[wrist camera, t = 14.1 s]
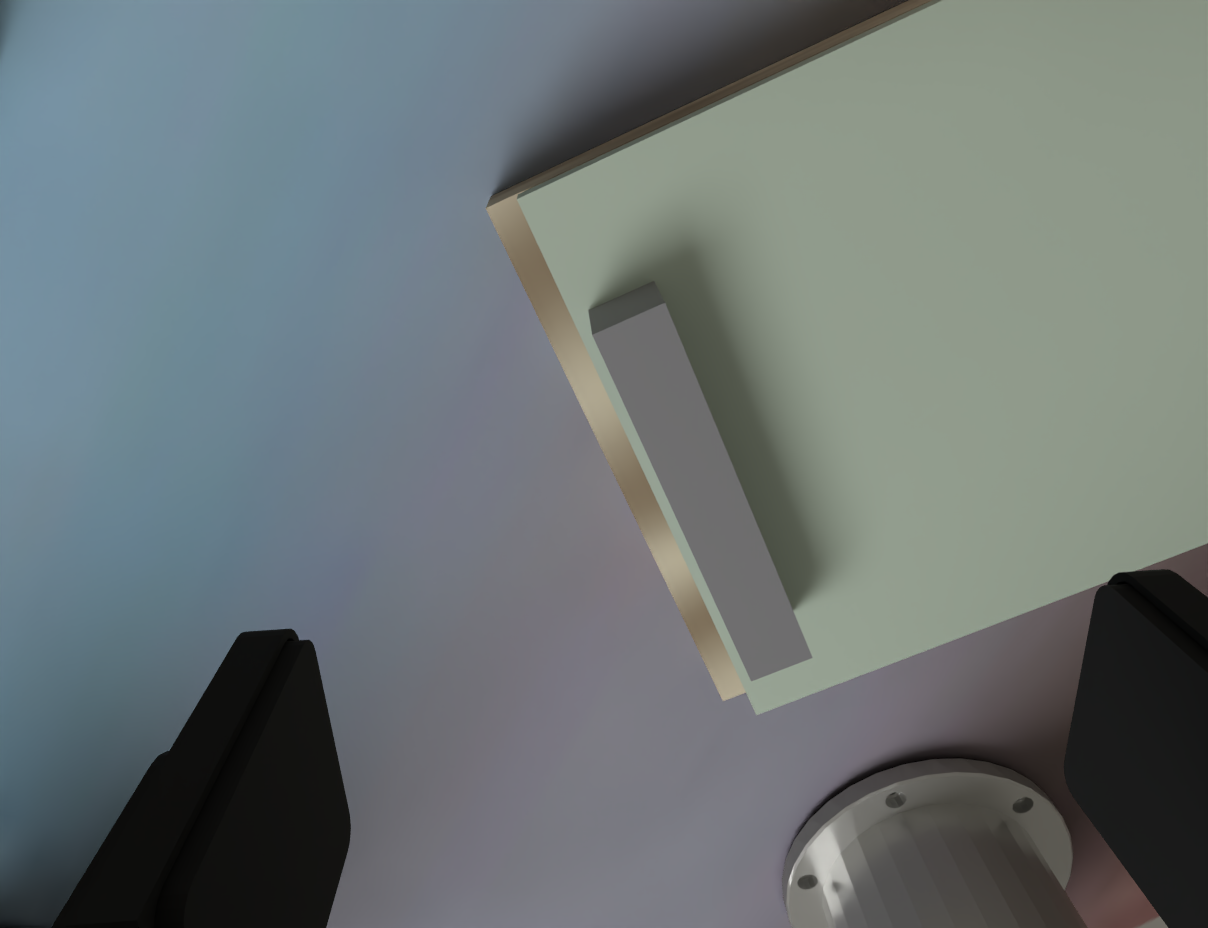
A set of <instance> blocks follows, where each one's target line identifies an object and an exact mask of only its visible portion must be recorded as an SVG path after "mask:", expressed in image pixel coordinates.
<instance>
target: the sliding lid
mask: <svg viewBox="0 0 1208 928" xmlns="http://www.w3.org/2000/svg"><path fill="white" fill-rule="evenodd" d="M517 201H518V203H519V205H520V207H521V210H522V212H523V214H524V216H525V218H526V220H527V223H528V225H529V227H530V229H531V231H532V233H533V235H534V238H535V240H536V242H537V244H538V246H539V248H540V250H541V253H542V255H543V257H544V259H545V261H546V263H547V266H548V268H549V270H550V272H551V274H552V276H553V278H554V281H555V283H556V285H557V287H558V289H559V291H560V294H561V296H562V298H563V300H564V302H565V304H566V306H567V309H568V311H569V313H570V315H571V317H572V319H573V321H574V324H575V326H576V328H577V330H578V332H579V334H580V337H581V339H582V341H583V343H584V345H585V347H586V349H587V352H588V354H589V356H590V358H591V360H592V362H593V364H594V367H595V369H596V371H597V373H598V375H599V377H600V380H601V382H602V384H603V386H604V388H605V390H606V392H607V395H608V397H609V399H610V401H611V403H612V405H613V407H614V410H615V412H616V414H617V416H618V418H619V420H620V423H621V425H622V427H623V429H624V431H625V433H626V435H627V438H628V440H629V442H630V444H631V446H632V448H633V450H634V453H635V455H636V457H637V459H638V461H639V463H640V466H641V468H642V470H643V472H644V474H645V476H646V478H647V481H648V483H649V485H650V487H651V489H652V491H653V493H654V496H655V498H656V500H657V502H658V504H659V506H660V509H661V511H662V513H663V515H664V517H665V519H666V521H667V524H668V526H669V528H670V530H671V532H672V534H673V536H674V539H675V541H676V543H677V545H678V547H679V549H680V552H681V554H682V556H683V558H684V560H685V562H686V564H687V567H688V569H689V571H690V573H691V575H692V577H693V580H694V582H695V584H696V586H697V588H698V590H699V592H700V595H701V597H702V599H703V601H704V603H705V605H706V607H707V610H708V612H709V614H710V616H711V618H712V620H713V623H714V625H715V627H716V629H717V631H718V633H719V635H720V638H721V640H722V642H723V644H724V646H725V648H726V650H727V653H728V655H729V657H730V659H731V661H732V663H733V666H734V668H735V670H736V672H737V674H738V676H739V678H740V681H741V683H742V685H743V687H744V689H745V691H746V693H747V696H748V698H749V700H750V702H751V704H752V706H753V709H754V711H755V713H756V715H758V714H761V713H764V712H766V711H769V710H771V709H774V708H777V707H779V706H782V705H785V704H787V703H790V702H792V701H795V700H798V699H800V698H803V697H806V696H808V695H811V694H813V693H816V692H819V691H821V690H824V689H827V688H829V687H832V686H834V685H837V684H840V683H842V682H845V681H848V680H850V679H853V678H855V677H858V676H861V675H863V674H866V673H869V672H871V671H874V670H876V669H879V668H882V667H884V666H887V665H890V664H892V663H895V662H897V661H900V660H903V659H905V658H908V657H911V656H913V655H916V654H918V653H921V652H924V651H926V650H929V649H932V648H934V647H937V646H939V645H942V644H945V643H947V642H950V641H953V640H955V639H958V638H960V637H963V636H966V635H968V634H971V633H974V632H976V631H979V630H981V629H984V628H987V627H989V626H992V625H995V624H997V623H1000V622H1002V621H1005V620H1008V619H1010V618H1013V617H1016V616H1018V615H1021V614H1023V613H1026V612H1029V611H1031V610H1034V609H1037V608H1039V607H1042V606H1044V605H1047V604H1050V603H1052V602H1055V601H1058V600H1060V599H1063V598H1065V597H1068V596H1071V595H1073V594H1076V593H1079V592H1081V591H1084V590H1086V589H1089V588H1092V587H1094V586H1097V585H1100V584H1102V583H1105V582H1107V581H1109V580H1110V579H1111V578H1112V576H1113V575H1115V574H1117V573H1119V572H1132V571H1136V570H1139V569H1142V568H1144V567H1147V566H1149V565H1152V564H1155V563H1157V562H1160V561H1163V560H1165V559H1168V558H1170V557H1173V556H1176V555H1178V554H1181V553H1184V552H1186V551H1189V550H1191V549H1194V548H1197V547H1199V546H1202V545H1205V544H1207V543H1208V0H932V1H930V2H928V3H926V4H924V5H921V6H919V7H917V8H915V9H913V10H911V11H909V12H907V13H904V14H902V15H900V16H898V17H896V18H894V19H892V20H889V21H887V22H885V23H883V24H881V25H879V26H877V27H874V28H872V29H870V30H868V31H866V32H864V33H862V34H860V35H857V36H855V37H853V38H851V39H849V40H847V41H845V42H842V43H840V44H838V45H836V46H834V47H832V48H830V49H827V50H825V51H823V52H821V53H819V54H817V55H815V56H813V57H810V58H808V59H806V60H804V61H802V62H800V63H798V64H795V65H793V66H791V67H789V68H787V69H785V70H783V71H780V72H778V73H776V74H774V75H772V76H770V77H768V78H766V79H763V80H761V81H759V82H757V83H755V84H753V85H751V86H748V87H746V88H744V89H742V90H740V91H738V92H736V93H734V94H731V95H729V96H727V97H725V98H723V99H721V100H719V101H716V102H714V103H712V104H710V105H708V106H706V107H704V108H701V109H699V110H697V111H695V112H693V113H691V114H689V115H687V116H684V117H682V118H680V119H678V120H676V121H674V122H672V123H669V124H667V125H665V126H663V127H661V128H659V129H657V130H654V131H652V132H650V133H648V134H646V135H644V136H642V137H640V138H637V139H635V140H633V141H631V142H629V143H627V144H625V145H622V146H620V147H618V148H616V149H614V150H612V151H610V152H607V153H605V154H603V155H601V156H599V157H597V158H595V159H593V160H590V161H588V162H586V163H584V164H582V165H580V166H578V167H575V168H573V169H571V170H569V171H567V172H565V173H563V174H560V175H558V176H556V177H554V178H552V179H550V180H548V181H546V182H543V183H541V184H539V185H537V186H535V187H533V188H531V189H528V190H526V191H524V192H522V193H520V194H518V196H517Z"/></svg>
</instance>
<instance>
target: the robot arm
mask: <svg viewBox="0 0 1208 928" xmlns="http://www.w3.org/2000/svg"><path fill="white" fill-rule="evenodd" d="M1064 774H1065V779H1066V783H1067V785H1068V788H1069V790H1070V792H1071V794H1072V796H1073V797H1074V799H1075V800H1076V801H1077V803H1078V804H1079V805H1080V807H1081V808H1082V810H1083V811H1084V812H1085V814H1086V815H1087V816H1088V818H1089V819H1090V821H1091V822H1092V823H1093V825H1094V826H1095V827H1096V829H1097V830H1098V832H1099V833H1100V834H1101V836H1102V837H1103V838H1104V840H1105V841H1106V843H1107V844H1108V845H1109V847H1110V848H1111V849H1112V851H1113V852H1114V854H1115V855H1116V856H1117V858H1118V859H1119V860H1120V862H1121V863H1122V865H1123V866H1124V867H1125V869H1126V870H1127V871H1128V873H1129V874H1130V876H1131V877H1132V878H1133V880H1134V881H1135V882H1136V884H1137V885H1138V886H1139V888H1140V889H1141V891H1142V892H1143V893H1144V895H1145V896H1146V897H1147V899H1148V900H1149V902H1150V903H1151V904H1152V906H1153V907H1154V908H1155V910H1156V911H1157V913H1158V914H1159V915H1160V917H1161V918H1162V919H1163V921H1164V922H1165V924H1166V925H1167V926H1168V928H1208V597H1206V596H1205V595H1204V594H1202V593H1201V592H1200V591H1199V590H1197V589H1196V588H1195V587H1193V586H1192V585H1191V584H1190V583H1188V582H1187V581H1186V580H1184V579H1183V578H1182V577H1181V576H1179V575H1178V574H1177V573H1175V572H1173V571H1171V570H1164V569H1161V570H1147V571H1132V572H1119V573H1117V574H1115V575H1113V576H1112V578H1111V579H1110V580H1109V582H1108V585H1104V586H1102V587H1100V588H1099V589H1098V591H1097V592H1096V595H1095V599H1094V604H1093V609H1092V615H1091V620H1090V626H1089V631H1088V636H1087V642H1086V647H1085V652H1084V658H1083V663H1082V669H1081V674H1080V679H1079V685H1078V690H1077V696H1076V701H1075V706H1074V712H1073V717H1072V722H1071V728H1070V733H1069V739H1068V744H1067V749H1066V755H1065V760H1064ZM350 831H351V824H350V814H349V809H348V804H347V799H346V794H345V790H344V785H343V780H342V775H341V771H340V766H339V761H338V756H337V752H336V747H335V742H334V737H333V732H332V728H331V723H330V718H329V713H328V709H327V704H326V699H325V694H324V690H323V685H322V680H321V675H320V670H319V666H318V661H317V656H316V651H315V648H314V645H313V643H312V642H311V641H310V640H299V639H298V636H297V634H296V633H295V631H294V630H292V629H279V630H265V631H250V632H243V633H241V634H240V635H239V636H238V637H237V639H236V640H235V642H234V644H233V645H232V647H231V649H230V650H229V652H228V654H227V655H226V657H225V659H224V660H223V662H222V664H221V665H220V667H219V669H218V670H217V672H216V674H215V675H214V677H213V679H212V681H211V682H210V684H209V686H208V687H207V689H206V691H205V692H204V694H203V696H202V697H201V699H200V701H199V702H198V704H197V706H196V707H195V709H194V711H193V712H192V714H191V716H190V717H189V719H188V721H187V722H186V724H185V726H184V727H183V729H182V731H181V732H180V734H179V736H178V738H177V739H176V741H175V743H174V744H173V746H172V748H171V749H170V751H167V752H165V753H163V754H161V755H159V756H158V757H157V758H156V759H155V761H154V762H153V763H152V764H151V766H150V767H149V769H148V770H147V772H146V774H145V775H144V777H143V779H142V780H141V782H140V783H139V785H138V787H137V788H136V790H135V792H134V793H133V795H132V797H131V798H130V800H129V801H128V803H127V805H126V806H125V808H124V810H123V811H122V813H121V815H120V816H119V818H118V819H117V821H116V823H115V824H114V826H113V828H112V829H111V831H110V833H109V834H108V836H107V837H106V839H105V841H104V842H103V844H102V846H101V847H100V849H99V850H98V852H97V854H96V855H95V857H94V859H93V860H92V862H91V864H90V865H89V867H88V868H87V870H86V872H85V873H84V875H83V877H82V878H81V880H80V882H79V883H78V885H77V886H76V888H75V890H74V891H73V893H72V895H71V896H70V898H69V900H68V901H67V903H66V904H65V906H64V908H63V909H62V911H61V913H60V914H59V916H58V917H57V919H56V921H55V922H54V924H53V926H52V927H51V928H326V926H327V923H328V919H329V915H330V912H331V908H332V905H333V901H334V898H335V894H336V891H337V887H338V884H339V880H340V877H341V873H342V869H343V866H344V862H345V859H346V855H347V852H348V848H349V842H350ZM1072 862H1073V848H1072V841H1071V835H1070V832H1069V830H1068V828H1067V826H1066V824H1065V821H1064V819H1063V817H1062V816H1061V814H1060V813H1059V811H1058V810H1057V809H1056V807H1055V806H1054V804H1053V803H1052V801H1051V800H1050V799H1049V797H1048V796H1047V794H1045V793H1044V792H1043V791H1042V790H1041V789H1040V788H1039V787H1038V786H1037V785H1036V784H1034V783H1033V782H1032V781H1031V780H1029V779H1028V778H1026V777H1024V776H1022V775H1020V774H1019V773H1017V772H1015V771H1013V770H1011V769H1009V768H1005V767H1002V766H999V765H996V764H993V763H990V762H985V761H977V760H969V759H962V758H957V759H931V760H925V761H920V762H914V763H908V764H903V765H900V766H897V767H894V768H891V769H888V770H885V771H882V772H879V773H876V774H874V775H872V776H870V777H868V778H866V779H864V780H862V781H860V782H857V783H855V784H853V785H851V786H850V787H848V788H847V789H845V790H844V791H843V792H841V793H840V794H838V795H837V796H835V797H834V798H832V799H831V800H830V801H828V802H827V803H826V804H825V805H824V806H823V807H822V808H821V809H820V810H819V811H818V812H817V813H816V814H814V815H813V816H812V817H811V818H810V819H809V820H808V822H807V823H806V825H805V826H804V827H803V829H802V830H801V831H800V833H799V834H798V836H797V837H796V838H795V840H794V842H793V844H792V847H791V849H790V851H789V853H788V855H787V858H786V860H785V865H784V870H783V876H782V891H783V900H784V904H785V907H786V910H787V914H788V918H789V922H790V924H791V926H792V928H1088V927H1087V926H1086V924H1085V923H1084V921H1083V919H1082V918H1081V916H1080V915H1079V913H1078V911H1077V910H1076V908H1075V907H1074V905H1073V903H1072V902H1071V900H1070V899H1069V897H1068V896H1067V894H1066V892H1065V889H1066V886H1067V883H1068V881H1069V878H1070V875H1071V870H1072Z"/></svg>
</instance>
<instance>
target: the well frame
mask: <svg viewBox="0 0 1208 928" xmlns="http://www.w3.org/2000/svg"><path fill="white" fill-rule="evenodd" d="M930 1H932V0H908V1H906V2H904V3H902V4H900V5H897V6H895V7H893V8H891V9H889V10H887V11H885V12H883V13H880V14H878V15H876V16H874V17H872V18H870V19H868V20H865V21H863V22H861V23H859V24H857V25H855V26H853V27H851V28H848V29H846V30H844V31H842V32H840V33H838V34H836V35H834V36H831V37H829V38H827V39H825V40H823V41H821V42H819V43H817V44H814V45H812V46H810V47H808V48H806V49H804V50H802V51H799V52H797V53H795V54H793V55H791V56H789V57H787V58H785V59H782V60H780V61H778V62H776V63H774V64H772V65H770V66H768V67H765V68H763V69H761V70H759V71H757V72H755V73H753V74H750V75H748V76H746V77H744V78H742V79H740V80H738V81H736V82H733V83H731V84H729V85H727V86H725V87H723V88H721V89H719V90H716V91H714V92H712V93H710V94H708V95H706V96H704V97H702V98H699V99H697V100H695V101H693V102H691V103H689V104H687V105H684V106H682V107H680V108H678V109H676V110H674V111H672V112H670V113H667V114H665V115H663V116H661V117H659V118H657V119H655V120H653V121H650V122H648V123H646V124H644V125H642V126H640V127H638V128H636V129H633V130H631V131H629V132H627V133H625V134H623V135H621V136H618V137H616V138H614V139H612V140H610V141H608V142H606V143H604V144H601V145H599V146H597V147H595V148H593V149H591V150H589V151H587V152H584V153H582V154H580V155H578V156H576V157H574V158H572V159H570V160H567V161H565V162H563V163H561V164H559V165H557V166H555V167H552V168H550V169H548V170H546V171H544V172H542V173H540V174H538V175H535V176H533V177H531V178H529V179H527V180H525V181H523V182H521V183H518V184H516V185H514V186H512V187H510V188H508V189H506V190H503V191H501V192H499V193H497V194H495V195H493V196H491V197H490V200H489V202H488V204H487V207H486V210H487V212H488V214H489V216H490V218H491V220H492V222H493V224H494V226H495V228H496V231H497V233H498V235H499V237H500V239H501V241H502V243H503V245H504V247H505V249H506V251H507V253H508V255H509V258H510V260H511V262H512V264H513V266H514V268H515V270H516V272H517V274H518V276H519V278H520V280H521V282H522V285H523V287H524V289H525V291H526V293H527V295H528V297H529V299H530V301H531V303H532V305H533V307H534V309H535V312H536V314H537V316H538V318H539V320H540V322H541V324H542V326H543V328H544V330H545V332H546V334H547V336H548V339H549V341H550V343H551V345H552V347H553V349H554V351H555V353H556V355H557V357H558V359H559V361H560V363H561V366H562V368H563V370H564V372H565V374H566V376H567V378H568V380H569V382H570V384H571V386H572V388H573V390H574V393H575V395H576V397H577V399H578V401H579V403H580V405H581V407H582V409H583V411H584V413H585V415H586V417H587V420H588V422H589V424H590V426H591V428H592V430H593V432H594V434H595V436H596V438H597V440H598V442H599V444H600V447H601V449H602V451H603V453H604V455H605V457H606V459H607V461H608V463H609V465H610V467H611V469H612V471H613V474H614V476H615V478H616V480H617V482H618V484H619V486H620V488H621V490H622V492H623V494H624V496H625V498H626V501H627V503H628V505H629V507H630V509H631V511H632V513H633V515H634V517H635V519H636V521H637V523H638V525H639V528H640V530H641V532H642V534H643V536H644V538H645V540H646V542H647V544H648V546H649V548H650V550H651V552H652V554H653V557H654V559H655V561H656V563H657V565H658V567H659V569H660V571H661V573H662V575H663V577H664V579H665V581H666V584H667V586H668V588H669V590H670V592H671V594H672V596H673V598H674V600H675V602H676V604H677V606H678V608H679V611H680V613H681V615H682V617H683V619H684V621H685V623H686V625H687V627H688V629H689V631H690V633H691V635H692V638H693V640H694V642H695V644H696V646H697V648H698V650H699V652H700V654H701V656H702V658H703V660H704V662H705V665H706V667H707V669H708V671H709V673H710V675H711V677H712V679H713V681H714V683H715V685H716V687H717V689H718V692H719V694H720V696H721V698H722V700H723V701H725V700H728V699H730V698H733V697H735V696H738V695H741V694H743V693H746V691H745V689H744V687H743V685H742V683H741V681H740V678H739V676H738V674H737V672H736V670H735V668H734V666H733V663H732V661H731V659H730V657H729V655H728V653H727V650H726V648H725V646H724V644H723V642H722V640H721V638H720V635H719V633H718V631H717V629H716V627H715V625H714V623H713V620H712V618H711V616H710V614H709V612H708V610H707V607H706V605H705V603H704V601H703V599H702V597H701V595H700V592H699V590H698V588H697V586H696V584H695V582H694V580H693V577H692V575H691V573H690V571H689V569H688V567H687V564H686V562H685V560H684V558H683V556H682V554H681V552H680V549H679V547H678V545H677V543H676V541H675V539H674V536H673V534H672V532H671V530H670V528H669V526H668V524H667V521H666V519H665V517H664V515H663V513H662V511H661V509H660V506H659V504H658V502H657V500H656V498H655V496H654V493H653V491H652V489H651V487H650V485H649V483H648V481H647V478H646V476H645V474H644V472H643V470H642V468H641V466H640V463H639V461H638V459H637V457H636V455H635V453H634V450H633V448H632V446H631V444H630V442H629V440H628V438H627V435H626V433H625V431H624V429H623V427H622V425H621V423H620V420H619V418H618V416H617V414H616V412H615V410H614V407H613V405H612V403H611V401H610V399H609V397H608V395H607V392H606V390H605V388H604V386H603V384H602V382H601V380H600V377H599V375H598V373H597V371H596V369H595V367H594V364H593V362H592V360H591V358H590V356H589V354H588V352H587V349H586V347H585V345H584V343H583V341H582V339H581V337H580V334H579V332H578V330H577V328H576V326H575V324H574V321H573V319H572V317H571V315H570V313H569V311H568V309H567V306H566V304H565V302H564V300H563V298H562V296H561V294H560V291H559V289H558V287H557V285H556V283H555V281H554V278H553V276H552V274H551V272H550V270H549V268H548V266H547V263H546V261H545V259H544V257H543V255H542V253H541V250H540V248H539V246H538V244H537V242H536V240H535V238H534V235H533V233H532V231H531V229H530V227H529V225H528V223H527V220H526V218H525V216H524V214H523V212H522V210H521V207H520V205H519V203H518V201H517V196H518V194H520V193H522V192H524V191H526V190H528V189H531V188H533V187H535V186H537V185H539V184H541V183H543V182H546V181H548V180H550V179H552V178H554V177H556V176H558V175H560V174H563V173H565V172H567V171H569V170H571V169H573V168H575V167H578V166H580V165H582V164H584V163H586V162H588V161H590V160H593V159H595V158H597V157H599V156H601V155H603V154H605V153H607V152H610V151H612V150H614V149H616V148H618V147H620V146H622V145H625V144H627V143H629V142H631V141H633V140H635V139H637V138H640V137H642V136H644V135H646V134H648V133H650V132H652V131H654V130H657V129H659V128H661V127H663V126H665V125H667V124H669V123H672V122H674V121H676V120H678V119H680V118H682V117H684V116H687V115H689V114H691V113H693V112H695V111H697V110H699V109H701V108H704V107H706V106H708V105H710V104H712V103H714V102H716V101H719V100H721V99H723V98H725V97H727V96H729V95H731V94H734V93H736V92H738V91H740V90H742V89H744V88H746V87H748V86H751V85H753V84H755V83H757V82H759V81H761V80H763V79H766V78H768V77H770V76H772V75H774V74H776V73H778V72H780V71H783V70H785V69H787V68H789V67H791V66H793V65H795V64H798V63H800V62H802V61H804V60H806V59H808V58H810V57H813V56H815V55H817V54H819V53H821V52H823V51H825V50H827V49H830V48H832V47H834V46H836V45H838V44H840V43H842V42H845V41H847V40H849V39H851V38H853V37H855V36H857V35H860V34H862V33H864V32H866V31H868V30H870V29H872V28H874V27H877V26H879V25H881V24H883V23H885V22H887V21H889V20H892V19H894V18H896V17H898V16H900V15H902V14H904V13H907V12H909V11H911V10H913V9H915V8H917V7H919V6H921V5H924V4H926V3H928V2H930Z"/></svg>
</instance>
